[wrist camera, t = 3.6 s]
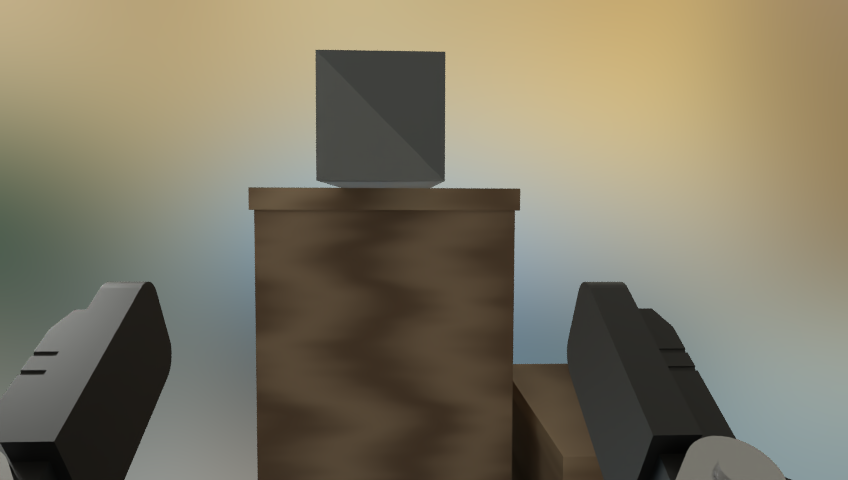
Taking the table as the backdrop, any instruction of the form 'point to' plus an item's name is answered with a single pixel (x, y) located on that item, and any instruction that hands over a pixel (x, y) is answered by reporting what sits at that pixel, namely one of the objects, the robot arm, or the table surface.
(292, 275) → the wooden plank crate
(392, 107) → the bar
